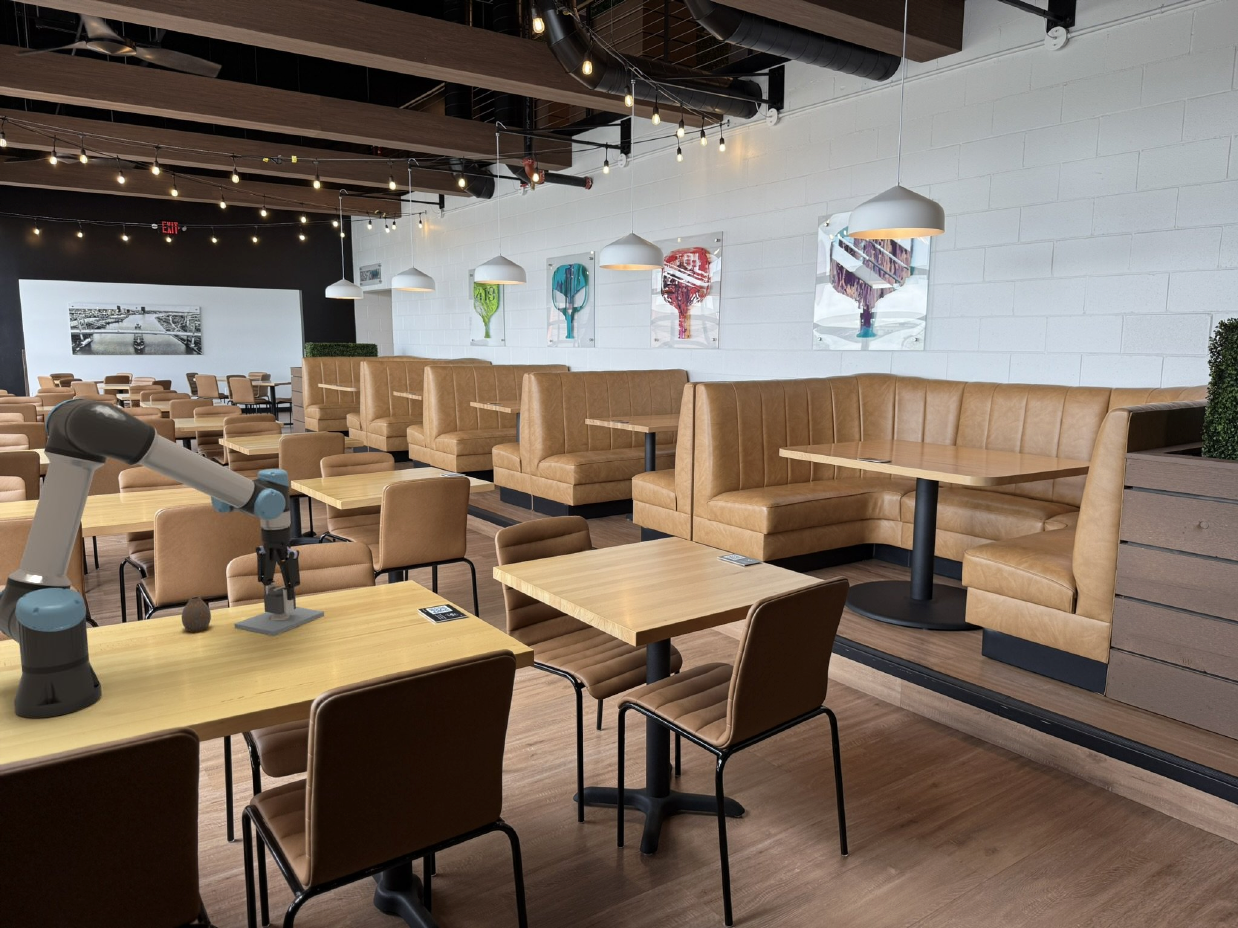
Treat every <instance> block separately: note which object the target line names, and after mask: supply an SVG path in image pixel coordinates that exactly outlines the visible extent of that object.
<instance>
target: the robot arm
mask: <svg viewBox="0 0 1238 928" xmlns="http://www.w3.org/2000/svg"><path fill="white" fill-rule="evenodd" d="M44 426H45V427H44V428H45V429H44V430H45V432H46V435H47V441H46V444H45V447H44V451H43V453H44V455H45V457H46V458H47V460H48V461H49V464H48V467H47V470H46V474H45V477H44V481H43V484H42V488H41V491H40V494H39V495H40V496H39V498H38V501H37V506H36V509H35V513H34V515H33V519H32V524H31V525H30V526H31V527H30V531H29V533H28V537H27V541H26V544H25V547H24V551H23V555H22V558H21V561H20V564H19V568H18V569H17V570H15V571H13V572H11V573H10V574H9V575H8V576H7V580H6V584H5V587H4V589H2V590H1V591H0V632H1V633H2V634H3V635H4V636H7V638H10V639H12V640H14V642H16V643H17V644H18V645H19V655H20V665H21V672H22V673H21V677H20V680H19V684H18V686H17V690H16V694H15V697H14V702H13V703H14V704H13V705H14V713H15V714H16V715H18V716H19V717H23V718H29V719H31V718H32V719H37V718H38V719H41V718H43V719H44V718H50V717H57V716H62V715H68V714H70V713H74V712H77V711H80V710H82V709H86V707H89V706H91V705H93V704H95V703H96V702H97V701H99V700H100V699H101V698H102V695H103V693H102V684H101V682H100V680H99V678H98V676H97V674H96V672H95V670H94V668H93V666H92V663H91V662H90V655H89V654H90V653H89V645H88V644H89V643H88V628H87V615H86V614H87V607H86V605H85V600H84V597H83V595H82V594H81V593H80V592H79V591H77V590H74V589H71V587H72V581H71V580H70V579H69V578H68V576H67V573H68V572H67V571H68V568H69V565H70V560H71V557H72V553H73V550H74V546H75V543H76V539H77V536H78V532H79V529H80V528H79V527H80V525H81V520H82V519H83V518H82V517H83V514H84V511H85V507H86V503H87V500H88V496H89V493H90V488H91V485H92V482H93V478H94V475H95V471H96V470H97V469H99V468H101V467H103V466H105V464H106V461H107V458H110V459H112V460H117V461H119V462H122V463H124V464H127V465H128V466H131V467H132V466H136V465H140V466H143V467H145V468H147V469H149V470H152V471H154V472H156V473H158V474H160V475H163V476H165V477H167V478H170V479H171V480H173V481H176V482H178V483H181V484H182V485H185V486H187V487H189V488H191V489H194V490H197V492H198V491H199V492H201V493H203V494H204V495H208V496H210V501H211V505H212V507H213V509H214V511H216V512H217V513H218V514H230V513H233V512H237V513H241V514H246V515H248V516H249V515H250V516H253V517H256V518H259V520H260V523H259V524H260V527H261V529H260V537H261V538H260V539H261V542H262V543H263V545H260V546H255V553H256V562H257V563H256V564H257V565H256V569H257V573H256V574H257V582H258V583H262V585H263V588H264V595H265V594H267V593H268V589H270V588H272V587H276V583H275V580H274V577H275V571H276V567H277V566H279V569H280V573H281V576H282V581H283V585H284V586H285V588H283V600H284V612H285V613H287V612H289V611H292V610H294V604H293V599H294V598H296V595H295V596H294V592H295V588H296V587H298V586H300V585H301V576H300V565H299V556H300V551H299V550H298V549H297V550H295V549H292V546H291V543H290V541H291V540H292V537H293V536H292V527H291V526H290V525H291V502H290V500H291V498H290V488H291V487H290V482H289V481H290V479H289V474H288V472H287V471H286V470H285V469H280V468H269V469H263V470H262V469H261V470H259V471H258V472H257V477H256V478H255V479H250V478H248V477H246V476H244V475H241V474H240V473H238V472H236V471H233V470H232V469H229V468H227V467H225V466H223V465H221V464H219V463H217V462H215V461H213V460H211V459H209V458H208V457H205V456H203V455H201V454H199V453H196V452H194V451H193V450H190V449H188V448H187V447H184V446H182V445H180V444H179V443H176V442H174V441H172V440H170V439H168V438H166V437H164V436H162V435H160V434H158V431H157V429H156V427H154V426H153V425H151V424H149V423H146V422H144V421H142V420H140V418H138V417H136V416H134V415H132V414H130V413H129V412H127V411H125V410H123V409H122V408H120V407H118V406H117V405H115V404H112V403H109V402H105V401H99V400H92V399H89V398H88V399H87V398H82V397H80V398H73V399H68V400H64V401H62V402H60V403H58V404H57V405H55V406H54V407H52V409H51V410H50V411H49V412H48V414H47V416H46V419H45V423H44Z"/></svg>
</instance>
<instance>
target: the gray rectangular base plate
mask: <svg viewBox="0 0 1238 928" xmlns="http://www.w3.org/2000/svg"><path fill="white" fill-rule="evenodd" d="M324 616H325V611H322V610H316V609H311V608H306V607H300V606H296V609H294V610H292V611H289V612H287V613H283V614H281V615H280V614H274V613H269V612H265V611H264V612H262V613H260V614H257V615H255V616H252V617H249V618H247V619H244V620H241V621H238V622H235V623H234V629H237V630H238V629H239V630H243V631H247V632H248V631H249V632H251V633H258V634H262V635H267V636H273V637H275V636H277V635H279V634H283V633H285V632H288V631H290V630H292V629H295V628H298V627H299V626H302V625H304V624H307V623H310V622H312V621H315V620H317V619H320V618H322V617H324ZM319 617H320V618H319ZM314 619H315V620H314Z"/></svg>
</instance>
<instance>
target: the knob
mask: <svg viewBox="0 0 1238 928" xmlns="http://www.w3.org/2000/svg"><path fill="white" fill-rule="evenodd" d="M283 588H285V585H278V586H275V587H272V588H270V589H268V593H267V594H265V593H264V594H263V603H264V604H263V606H264V613H265V612H269V613H274V614H280V615H281V614H283V613H285V612H284V600H283ZM294 596H295V598H294V599H293V604H294V609H296V607H297V604H296V591H294Z"/></svg>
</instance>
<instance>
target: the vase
mask: <svg viewBox="0 0 1238 928" xmlns="http://www.w3.org/2000/svg"><path fill="white" fill-rule="evenodd" d="M211 619H212V614H211V609H210V607H209V606H208V604H206V603H205V601H204V600H203V599H202V597H200V596H192V597H190V598H189V600H188V602H187V603H186V604H185V606H184V607H183V609H182V612H181V622H182V625H183V628H184V629H186V630H187V631H188V632H190V633H197V632H202V631H204V630H206V629H207V628H208V626H210V622H211Z"/></svg>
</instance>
